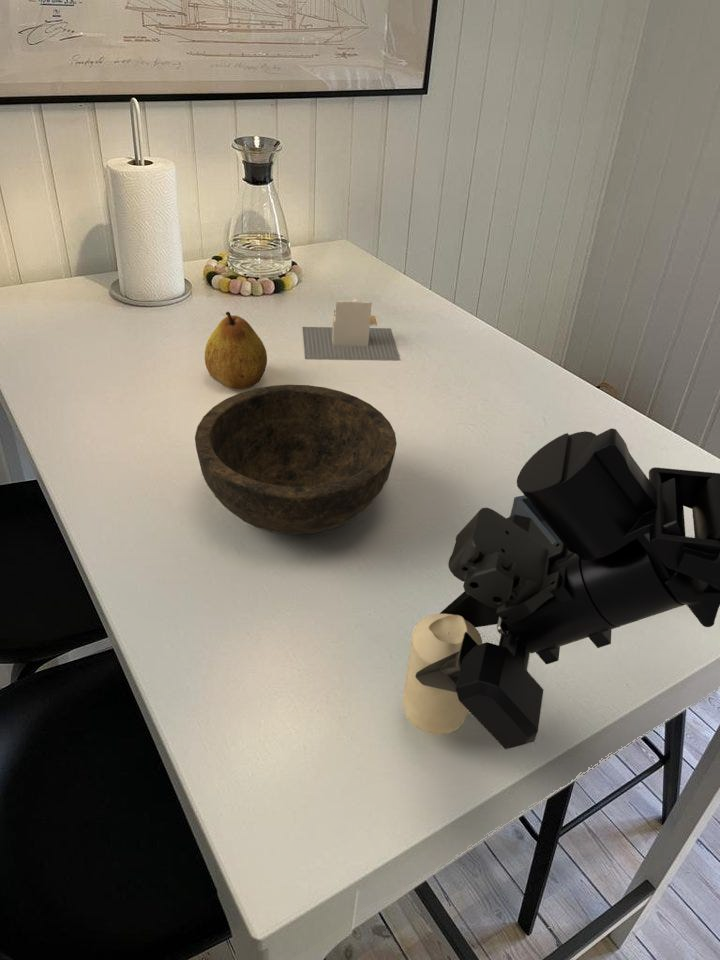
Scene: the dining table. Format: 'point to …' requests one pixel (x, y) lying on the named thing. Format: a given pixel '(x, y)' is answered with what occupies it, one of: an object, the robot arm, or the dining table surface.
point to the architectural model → (350, 336)
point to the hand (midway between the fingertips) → (427, 651)
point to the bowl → (295, 456)
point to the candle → (428, 646)
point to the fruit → (235, 354)
